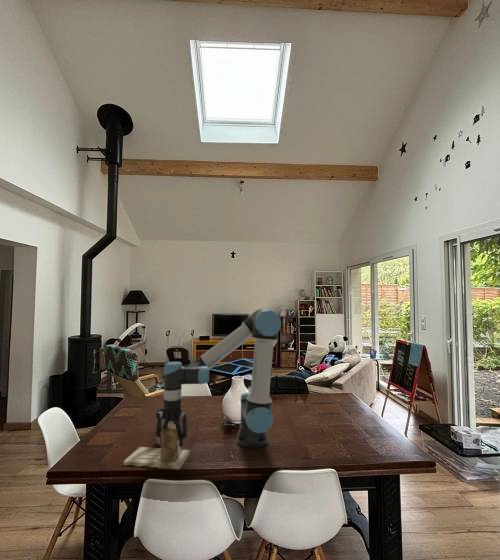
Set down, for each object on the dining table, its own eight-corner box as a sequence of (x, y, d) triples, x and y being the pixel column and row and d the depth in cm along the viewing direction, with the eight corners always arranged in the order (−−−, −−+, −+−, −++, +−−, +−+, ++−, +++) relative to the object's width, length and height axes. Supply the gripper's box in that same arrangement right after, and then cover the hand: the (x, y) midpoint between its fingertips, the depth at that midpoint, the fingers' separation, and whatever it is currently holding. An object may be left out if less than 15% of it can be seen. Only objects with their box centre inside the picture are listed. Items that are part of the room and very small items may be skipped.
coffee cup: (155, 447, 151) (155, 414, 152) (155, 440, 159) (155, 409, 160) (173, 445, 154) (174, 413, 155) (172, 438, 162) (173, 407, 163)
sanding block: (181, 452, 143) (182, 424, 144) (174, 461, 135) (174, 431, 135) (168, 451, 144) (169, 423, 145) (160, 460, 135) (161, 431, 136)
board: (190, 453, 145) (190, 450, 146) (178, 469, 132) (179, 465, 132) (139, 450, 149) (139, 446, 149) (123, 465, 135) (123, 461, 135)
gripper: (196, 397, 144) (195, 451, 142) (155, 395, 146) (154, 448, 145) (190, 402, 136) (189, 459, 135) (148, 400, 139) (146, 456, 137)
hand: (171, 453), depth 140 cm, fingers closed on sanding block, 6 cm apart
